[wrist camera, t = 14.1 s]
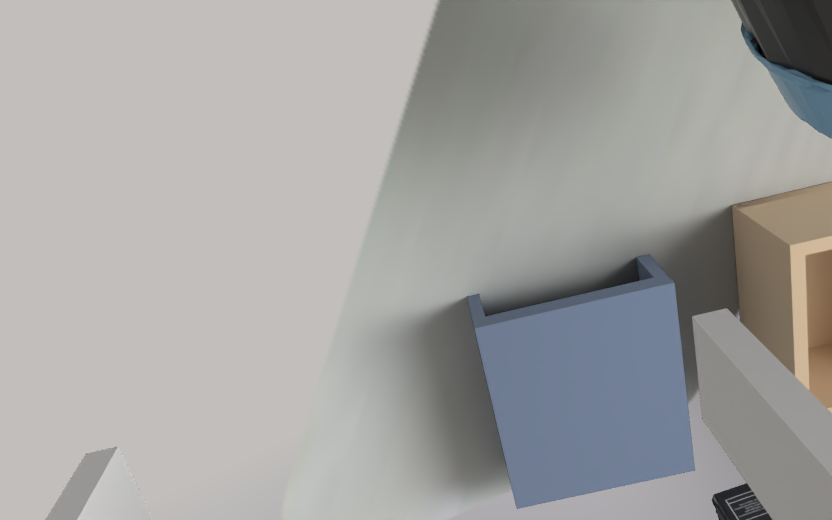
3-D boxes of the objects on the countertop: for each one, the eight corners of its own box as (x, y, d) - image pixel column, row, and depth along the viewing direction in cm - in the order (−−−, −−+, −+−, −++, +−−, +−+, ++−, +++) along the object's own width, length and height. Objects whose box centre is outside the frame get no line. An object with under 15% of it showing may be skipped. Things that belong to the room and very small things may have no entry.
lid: (466, 295, 47) (474, 328, 43) (648, 253, 46) (674, 282, 42) (506, 464, 52) (516, 508, 48) (669, 428, 52) (694, 470, 47)
